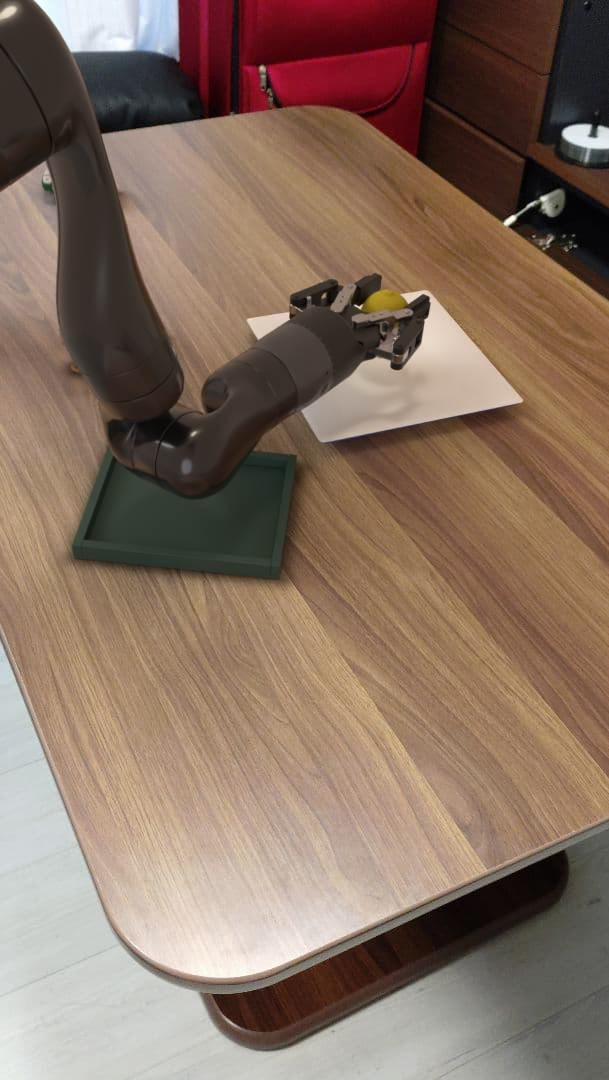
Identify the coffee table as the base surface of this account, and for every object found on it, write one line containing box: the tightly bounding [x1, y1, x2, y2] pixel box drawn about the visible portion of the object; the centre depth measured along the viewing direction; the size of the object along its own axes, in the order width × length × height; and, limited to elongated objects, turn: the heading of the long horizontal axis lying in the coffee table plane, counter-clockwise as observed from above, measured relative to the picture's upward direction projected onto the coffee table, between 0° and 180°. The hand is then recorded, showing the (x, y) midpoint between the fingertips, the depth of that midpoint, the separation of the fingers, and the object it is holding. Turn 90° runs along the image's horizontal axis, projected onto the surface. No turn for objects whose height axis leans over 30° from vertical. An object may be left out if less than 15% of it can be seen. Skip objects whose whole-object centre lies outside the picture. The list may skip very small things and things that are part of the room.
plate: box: [246, 289, 524, 445], centre depth 104 cm, size 22×22×2 cm
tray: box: [71, 445, 298, 580], centre depth 87 cm, size 18×15×2 cm
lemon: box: [361, 288, 408, 358], centre depth 100 cm, size 6×6×8 cm
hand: (401, 292), depth 99 cm, fingers closed on lemon, 5 cm apart
